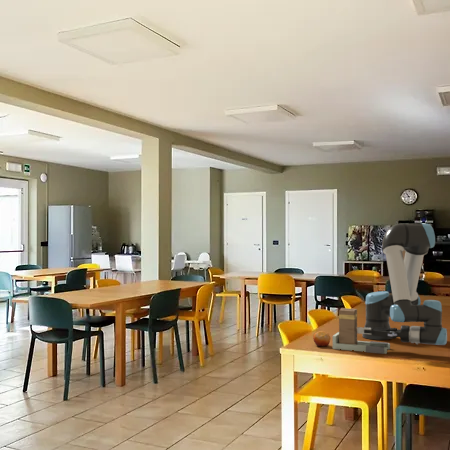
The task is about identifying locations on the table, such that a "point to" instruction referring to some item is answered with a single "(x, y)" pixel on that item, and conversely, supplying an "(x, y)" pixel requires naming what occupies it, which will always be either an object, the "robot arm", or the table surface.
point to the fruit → (321, 338)
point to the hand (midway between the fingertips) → (357, 330)
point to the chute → (361, 346)
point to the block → (348, 326)
